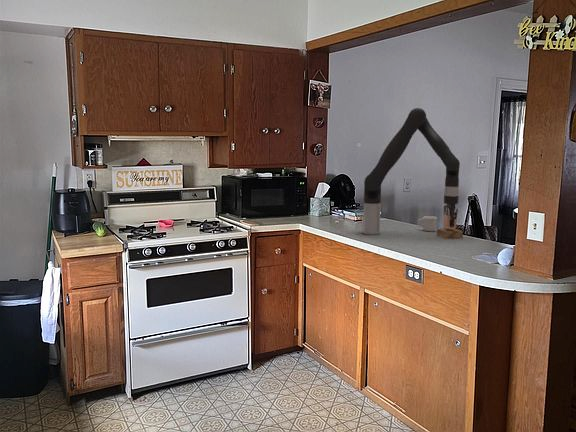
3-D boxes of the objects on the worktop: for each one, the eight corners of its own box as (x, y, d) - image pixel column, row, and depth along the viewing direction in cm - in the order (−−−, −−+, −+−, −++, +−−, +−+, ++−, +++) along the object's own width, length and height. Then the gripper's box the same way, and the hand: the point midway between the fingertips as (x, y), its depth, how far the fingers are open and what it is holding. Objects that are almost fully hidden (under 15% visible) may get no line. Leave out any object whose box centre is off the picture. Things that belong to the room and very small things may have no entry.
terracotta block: (447, 228, 289) (447, 215, 288) (443, 226, 294) (444, 214, 293) (456, 228, 290) (456, 215, 289) (452, 226, 295) (453, 214, 294)
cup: (415, 230, 310) (416, 217, 309) (419, 228, 317) (419, 215, 316) (434, 232, 305) (435, 218, 304) (437, 230, 312) (438, 216, 311)
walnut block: (445, 239, 287) (445, 231, 286) (436, 235, 297) (437, 228, 296) (462, 238, 289) (462, 231, 288) (453, 235, 298) (453, 228, 298)
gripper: (439, 193, 296) (438, 223, 299) (449, 196, 282) (448, 228, 284) (452, 193, 297) (451, 223, 299) (463, 196, 283) (461, 228, 285)
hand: (449, 225), depth 292 cm, fingers closed on terracotta block, 5 cm apart
